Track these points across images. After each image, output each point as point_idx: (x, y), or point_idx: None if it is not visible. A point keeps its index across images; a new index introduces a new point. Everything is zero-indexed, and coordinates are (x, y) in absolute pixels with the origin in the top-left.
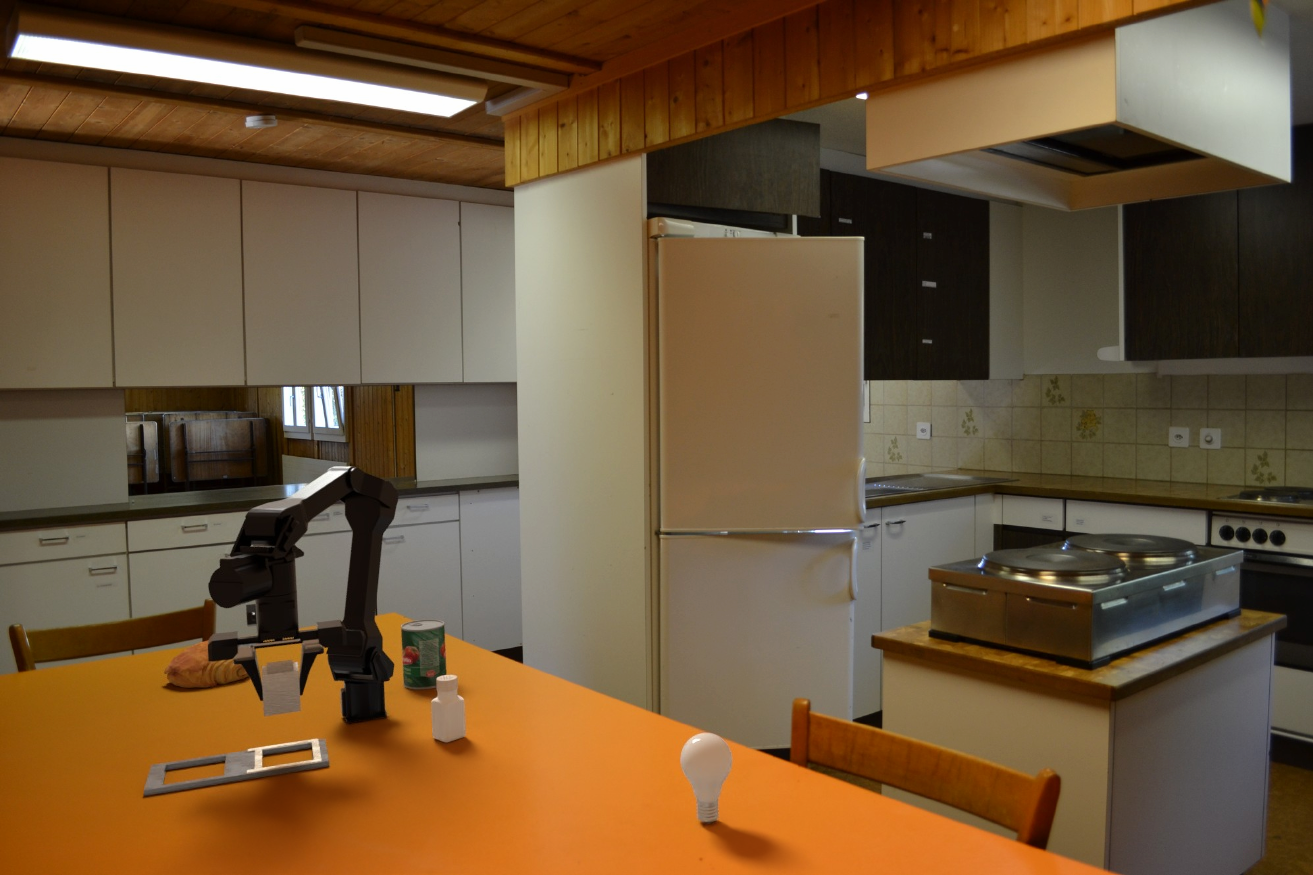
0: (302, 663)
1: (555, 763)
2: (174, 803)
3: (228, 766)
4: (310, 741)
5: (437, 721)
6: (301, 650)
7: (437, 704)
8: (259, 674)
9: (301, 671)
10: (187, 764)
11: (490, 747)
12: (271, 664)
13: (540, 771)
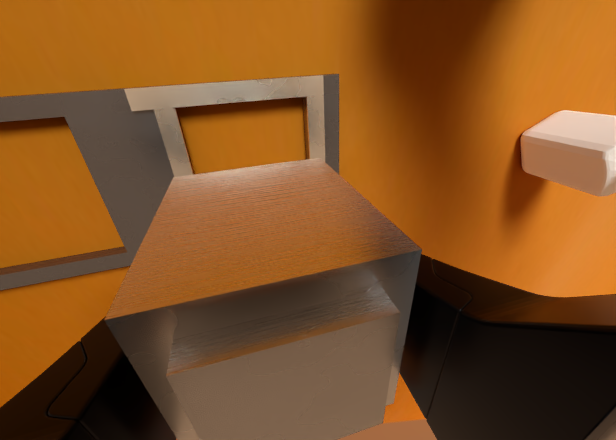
0: (435, 433)
1: (565, 272)
2: (68, 325)
3: (115, 203)
4: (304, 95)
5: (556, 164)
6: (536, 346)
7: (598, 178)
8: (157, 413)
9: (401, 375)
10: None
11: (552, 206)
12: (232, 408)
13: (542, 288)
